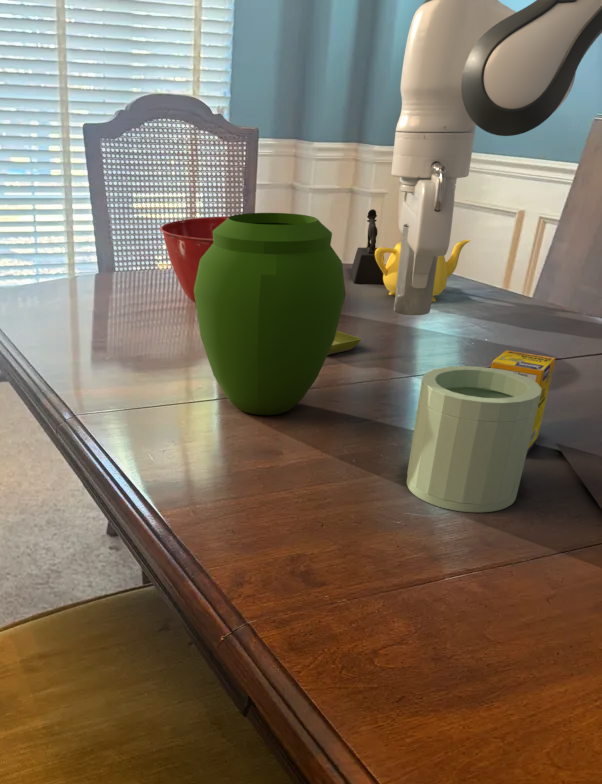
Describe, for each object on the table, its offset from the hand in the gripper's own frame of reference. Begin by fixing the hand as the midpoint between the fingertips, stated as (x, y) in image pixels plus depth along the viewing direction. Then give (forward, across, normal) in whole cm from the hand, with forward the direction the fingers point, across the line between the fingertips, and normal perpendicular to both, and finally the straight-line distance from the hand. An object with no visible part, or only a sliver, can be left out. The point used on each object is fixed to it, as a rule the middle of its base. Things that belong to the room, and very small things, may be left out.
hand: (415, 282), depth 97 cm
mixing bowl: (+17, +59, +28) cm, 68 cm away
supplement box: (+18, -10, -12) cm, 23 cm away
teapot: (+17, +73, -10) cm, 76 cm away
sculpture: (+17, +92, -1) cm, 94 cm away
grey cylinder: (+4, 0, 0) cm, 4 cm away
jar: (+17, -23, -4) cm, 29 cm away
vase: (+17, 0, +18) cm, 25 cm away
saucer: (+17, +30, +10) cm, 36 cm away
